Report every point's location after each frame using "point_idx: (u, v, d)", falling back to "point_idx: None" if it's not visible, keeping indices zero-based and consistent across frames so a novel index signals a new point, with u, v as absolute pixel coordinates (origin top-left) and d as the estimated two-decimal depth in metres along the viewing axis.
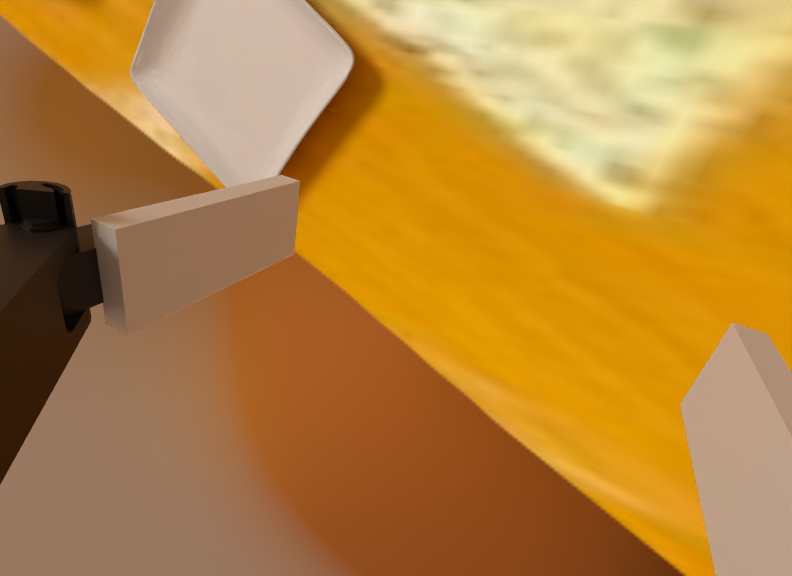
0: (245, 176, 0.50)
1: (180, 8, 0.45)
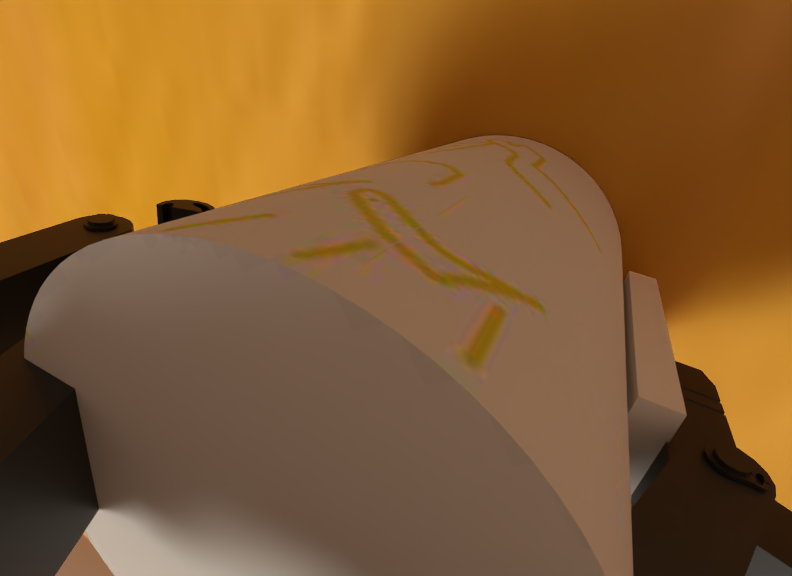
0: None
1: None
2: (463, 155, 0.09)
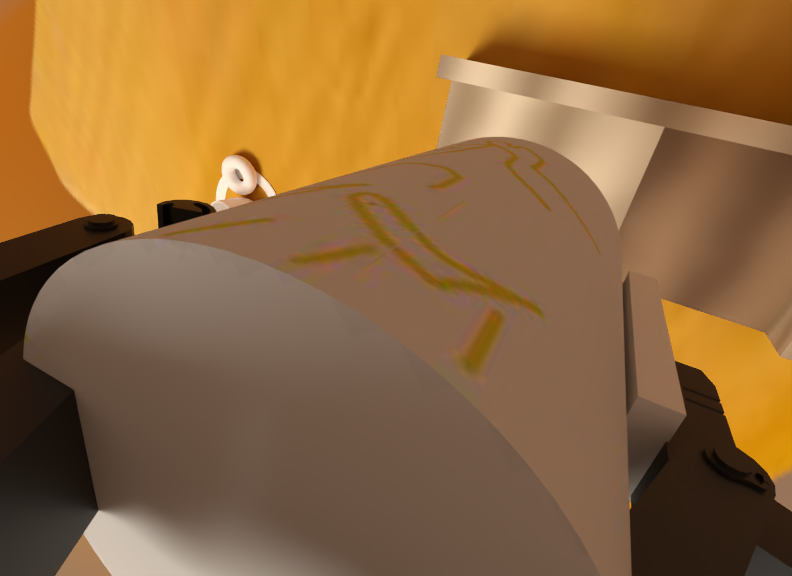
0: None
1: None
2: (462, 157, 0.09)
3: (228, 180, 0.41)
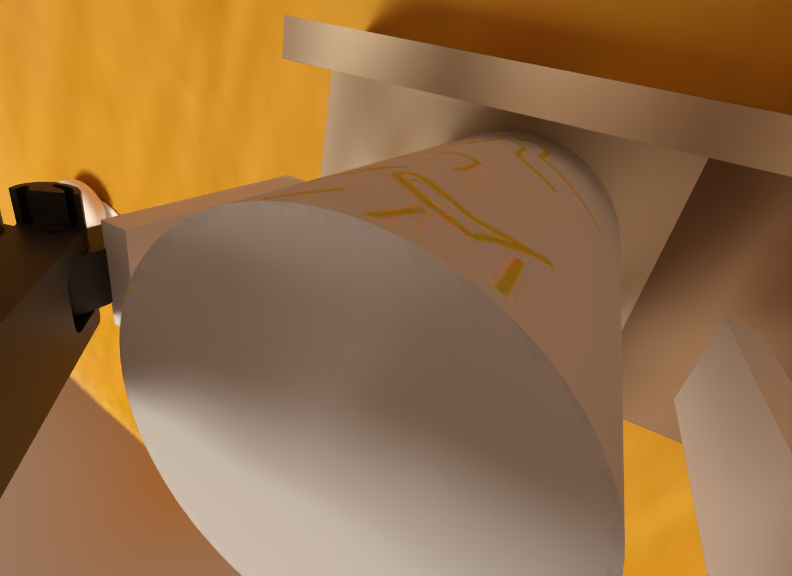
0: None
1: None
2: (478, 147, 0.10)
3: None
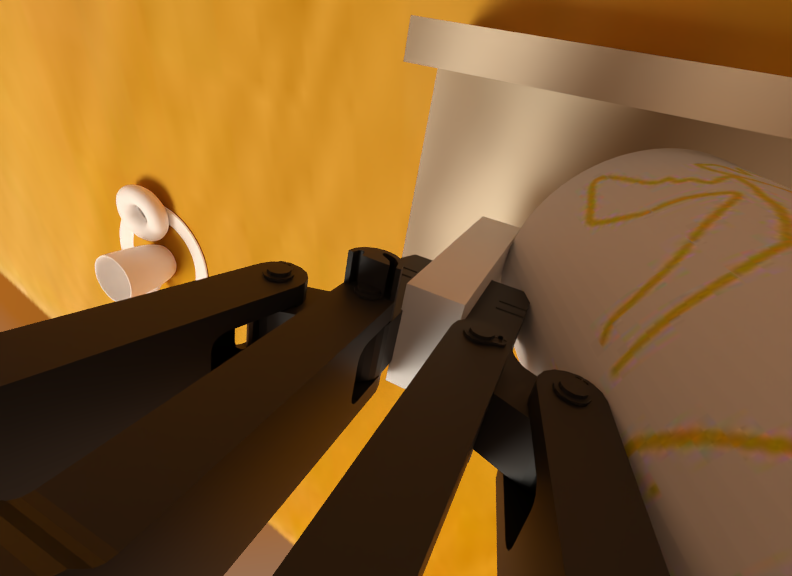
0: None
1: None
2: None
3: (127, 221, 0.28)
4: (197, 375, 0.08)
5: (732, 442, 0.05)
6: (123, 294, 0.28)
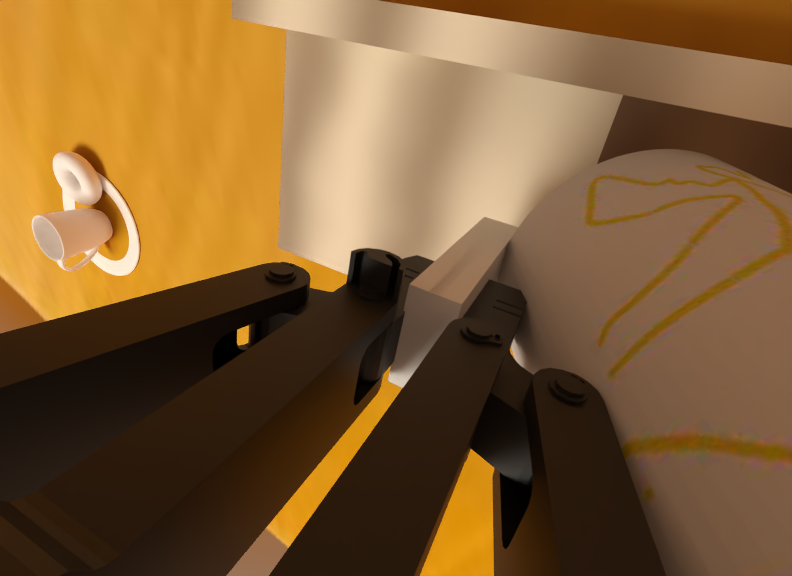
0: None
1: None
2: None
3: (64, 186, 0.30)
4: (199, 376, 0.08)
5: (727, 448, 0.06)
6: (60, 253, 0.30)
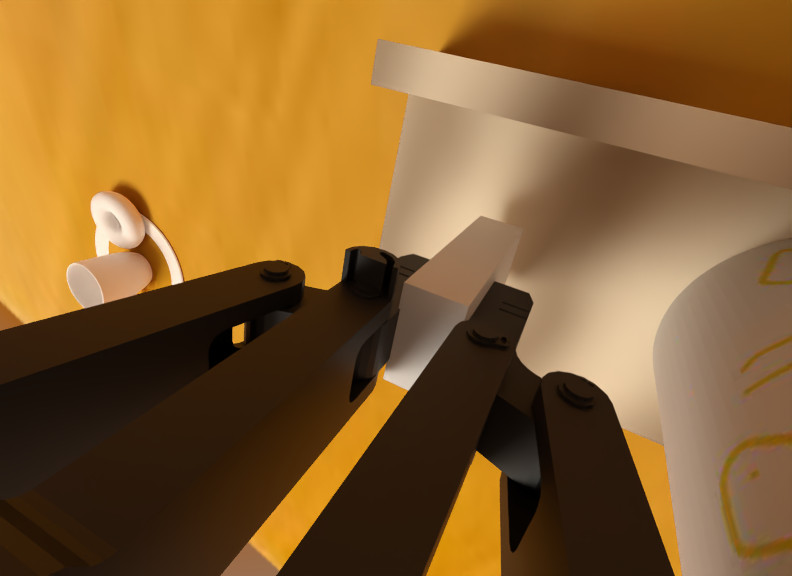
0: None
1: None
2: None
3: (102, 227, 0.27)
4: (195, 374, 0.08)
5: None
6: (96, 302, 0.27)
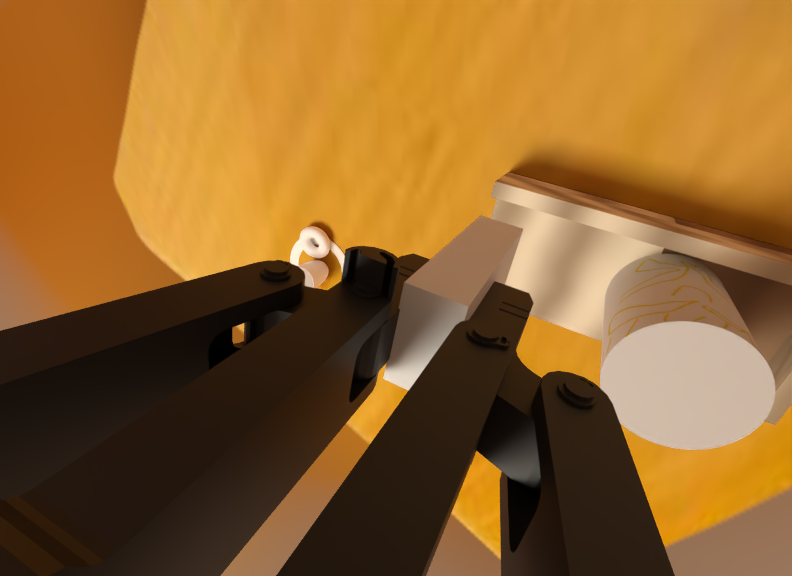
0: None
1: None
2: (694, 281, 0.28)
3: (305, 246, 0.48)
4: (195, 374, 0.08)
5: (631, 307, 0.27)
6: None
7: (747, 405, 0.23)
